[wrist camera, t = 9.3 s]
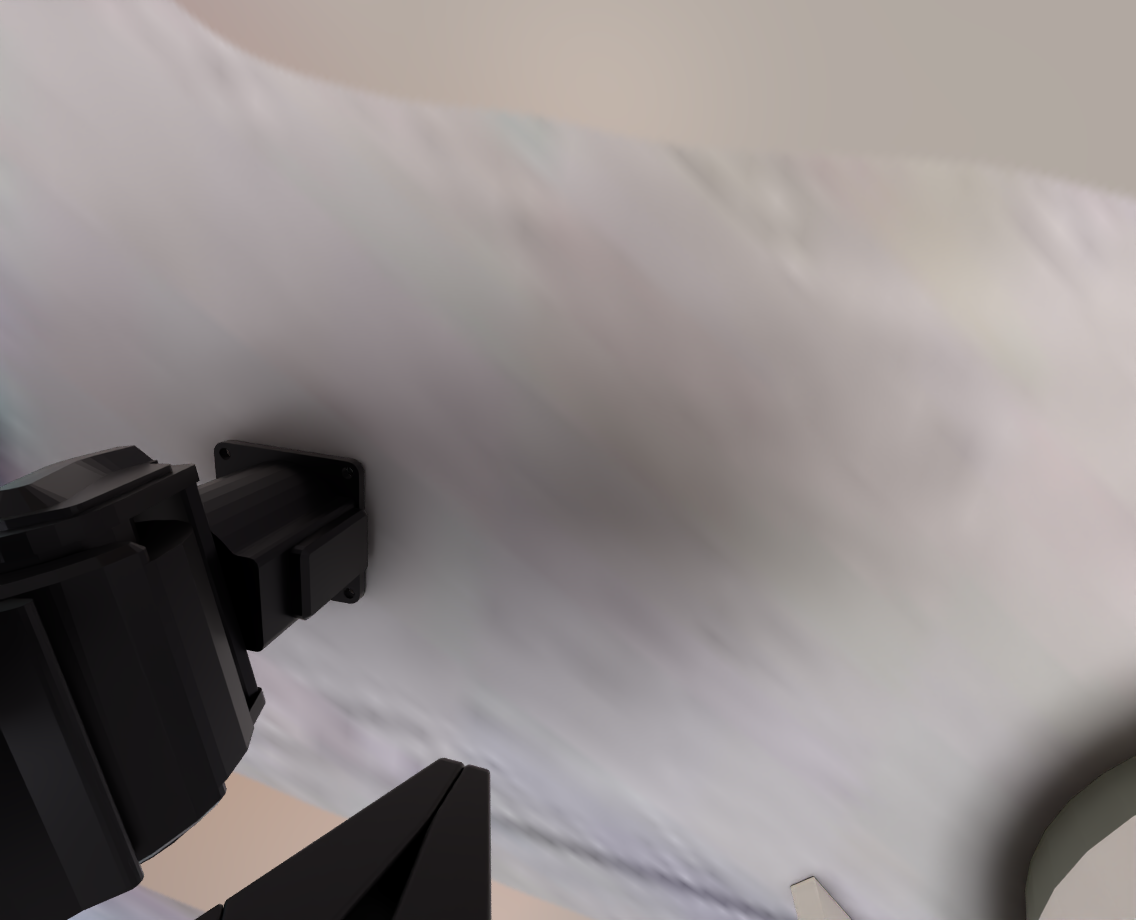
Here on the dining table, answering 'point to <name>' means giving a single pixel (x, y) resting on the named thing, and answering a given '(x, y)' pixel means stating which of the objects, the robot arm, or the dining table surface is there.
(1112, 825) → the bowl
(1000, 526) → the dining table surface
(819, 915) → the white angular bar frame
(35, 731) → the robot arm
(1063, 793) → the dining table surface
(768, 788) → the dining table surface
